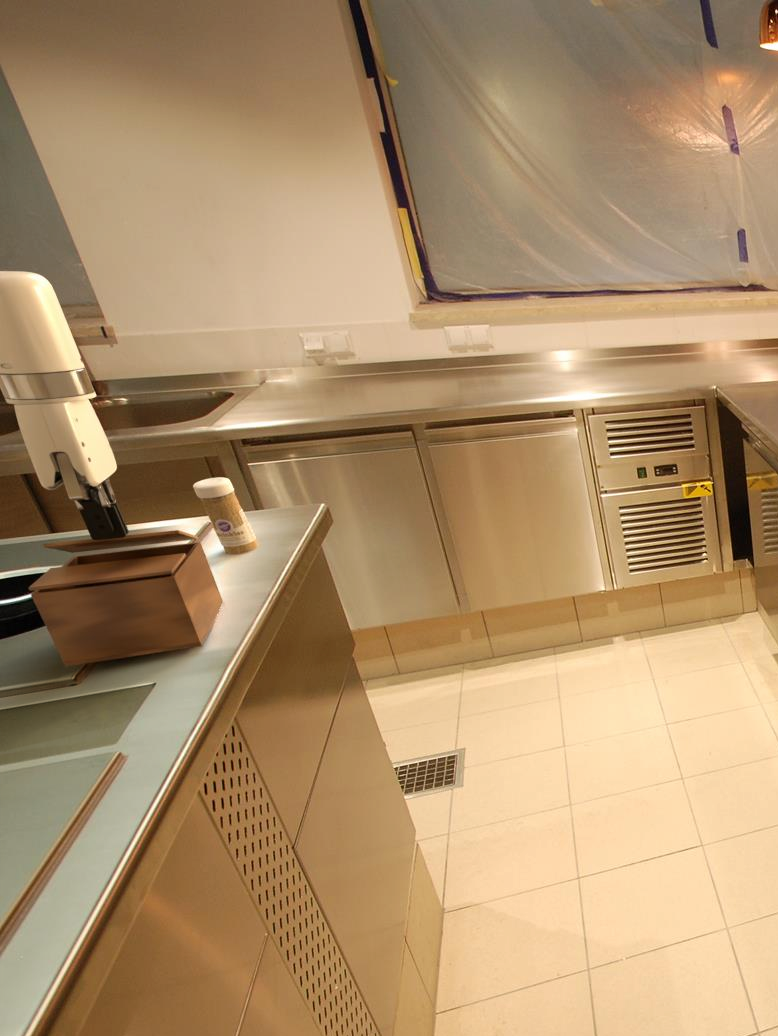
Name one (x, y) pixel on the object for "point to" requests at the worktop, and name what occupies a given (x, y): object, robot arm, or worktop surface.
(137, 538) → the flap
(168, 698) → the worktop surface
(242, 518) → the sprinkles bottle
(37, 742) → the worktop surface
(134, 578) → the brown wooden box
